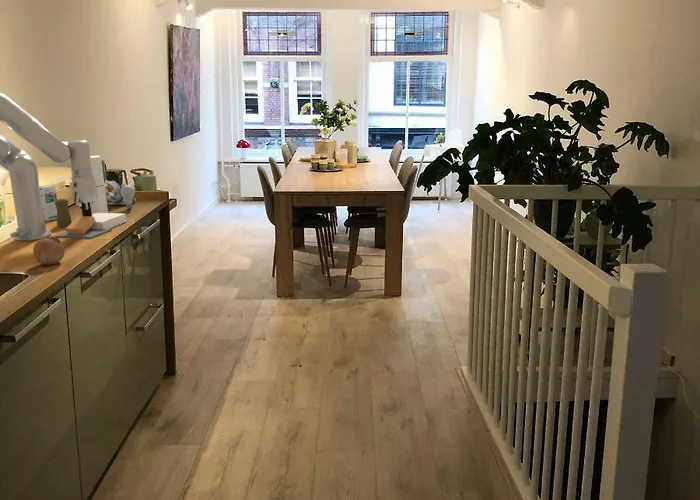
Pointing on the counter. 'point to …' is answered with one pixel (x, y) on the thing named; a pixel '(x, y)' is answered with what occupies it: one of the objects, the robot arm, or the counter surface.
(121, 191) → the lightbulb
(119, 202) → the lucky cat figurine
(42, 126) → the robot arm
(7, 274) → the counter surface
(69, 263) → the counter surface
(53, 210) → the syrup box
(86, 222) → the tile
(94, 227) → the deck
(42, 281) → the counter surface
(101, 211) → the tall white block
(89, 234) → the mat
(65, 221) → the olive green shaker
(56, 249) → the onion
